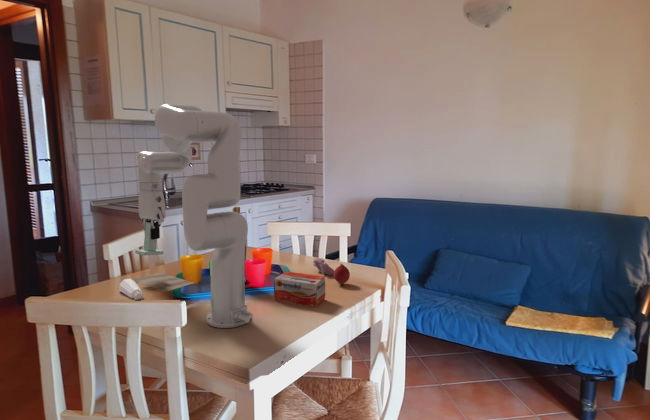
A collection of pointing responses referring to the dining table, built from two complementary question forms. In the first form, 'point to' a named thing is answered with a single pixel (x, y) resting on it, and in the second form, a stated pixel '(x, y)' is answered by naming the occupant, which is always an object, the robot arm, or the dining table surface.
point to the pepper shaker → (131, 289)
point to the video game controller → (323, 267)
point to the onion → (341, 274)
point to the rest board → (162, 282)
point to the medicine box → (299, 289)
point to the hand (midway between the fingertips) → (152, 237)
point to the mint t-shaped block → (149, 243)
